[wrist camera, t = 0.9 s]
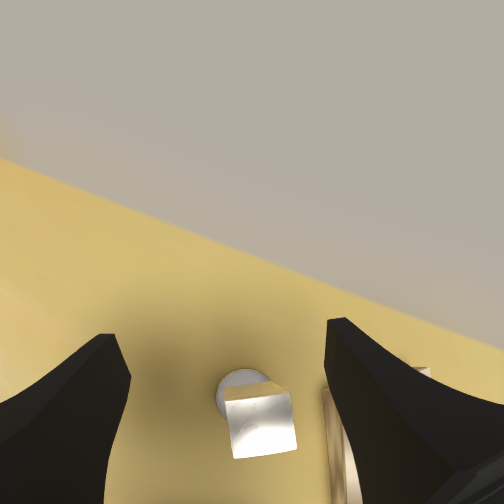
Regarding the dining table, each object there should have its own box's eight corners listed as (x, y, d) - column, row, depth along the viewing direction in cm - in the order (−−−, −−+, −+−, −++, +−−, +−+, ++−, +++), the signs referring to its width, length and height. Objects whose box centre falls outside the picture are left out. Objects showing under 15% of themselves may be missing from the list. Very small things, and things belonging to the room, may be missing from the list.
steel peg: (277, 418, 21) (311, 457, 12) (220, 425, 20) (220, 472, 11) (270, 364, 22) (302, 375, 13) (212, 371, 21) (207, 388, 12)
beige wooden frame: (407, 503, 18) (427, 516, 15) (333, 532, 17) (347, 551, 13) (404, 366, 23) (429, 367, 19) (321, 389, 22) (339, 395, 18)
